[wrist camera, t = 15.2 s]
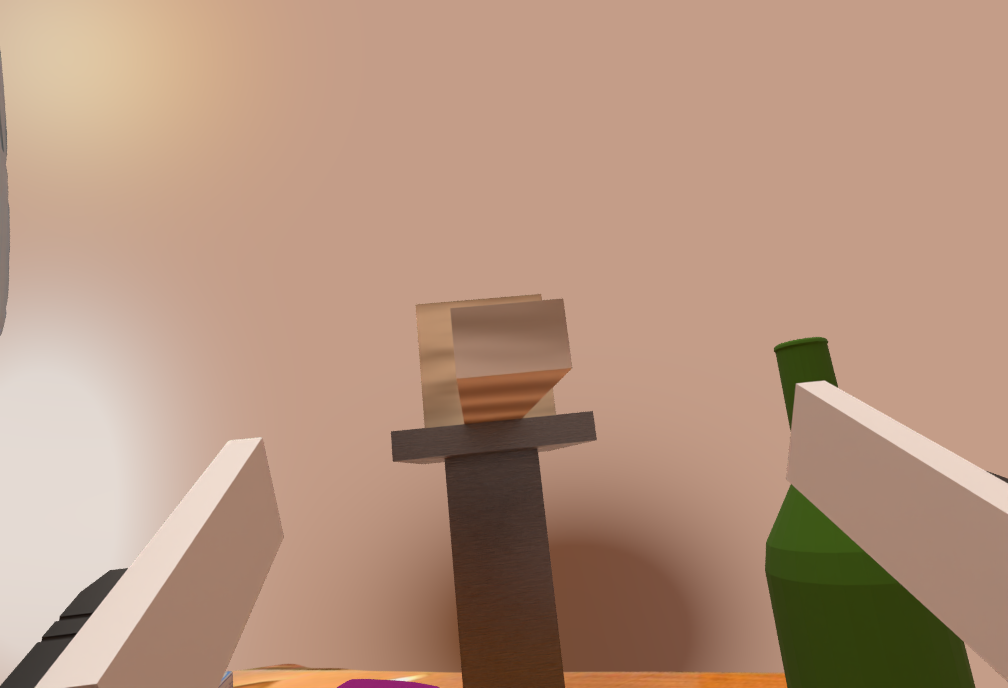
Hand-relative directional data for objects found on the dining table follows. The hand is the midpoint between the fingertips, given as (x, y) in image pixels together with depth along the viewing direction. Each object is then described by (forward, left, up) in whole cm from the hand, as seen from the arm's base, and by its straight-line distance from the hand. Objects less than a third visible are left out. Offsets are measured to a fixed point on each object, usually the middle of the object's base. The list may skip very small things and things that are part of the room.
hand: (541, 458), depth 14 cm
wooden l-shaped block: (-9, +19, +3) cm, 21 cm away
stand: (-16, +34, -27) cm, 46 cm away
